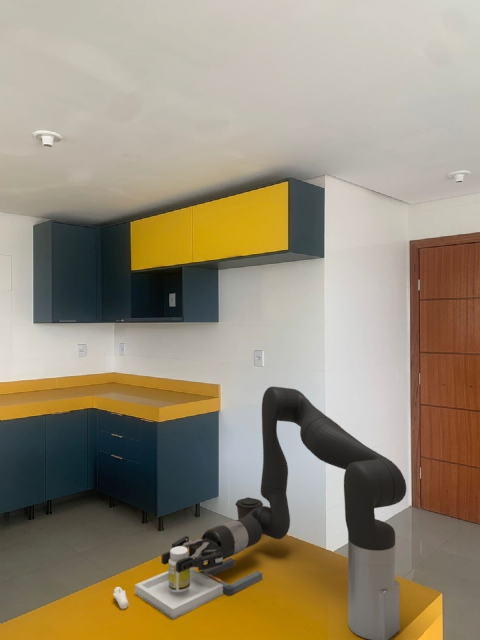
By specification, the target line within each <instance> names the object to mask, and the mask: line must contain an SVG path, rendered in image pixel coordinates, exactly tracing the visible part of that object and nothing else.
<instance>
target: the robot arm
mask: <svg viewBox="0 0 480 640" xmlns="http://www.w3.org/2000/svg"><path fill="white" fill-rule="evenodd" d="M278 421H279V422H285V423H286V422H289V423H292V424H293V423H294V424H296V425H297V426H298V427H300V431H299V435H300V439H301V442H302V444H303V445H304V447H305V448H306V449H307V450H308V451H310V453H311V454H313V455H314V456H315V457H316V458H317V459H318V460H320V461H321V462H324V463H325V464H328V465H331V466H333V467H337V468H340V469H342V470H345V471H344V477H343V494H344V495H343V496H344V498H343V500H344V515H345V525H346V528H347V534H348V535H347V553H348V555H347V610H348V611H347V616H348V617H347V624H348V628H349V629H350V630H351V632H352V633H353V634H355V635H357V636H359V637H361V638H364V639H366V640H390V639H391V638H393V636H395V635H396V634H397V633H398V632H400V631H401V630H400V628H401V627H400V626H401V625H400V624H401V621H400V617H401V616H400V615H401V613H400V607H401V606H400V602H401V601H400V600H401V599H400V593H401V592H400V591H401V589H400V585H401V584H400V582H399V581H397V580H396V531H395V528H394V527H393V526H392V525H390V524H389V523H387V522H385V521H382V520H380V519H377V518H376V513H375V509H379V508H385V507H391V506H394V505H398V504H399V503H400V502H401V501H402V500H403V499H404V497H406V494H407V483H406V480H405V477H404V474H403V473H402V470H400V468H399V467H398V466H397V464H395V463H394V462H393V461H392V460H390V459H389V458H387V457H385V456H383V455H382V454H380V453H379V452H377V451H376V450H374V449H372V448H370V447H368V446H366V445H365V444H364V443H363V442H361V441H360V440H358V439H357V438H356V437H354V436H353V435H352V434H350V433H349V432H348V431H346V430H345V429H344V428H343V427H342V426H341V425H339V424H338V423H337V422H336V421H334V420H333V419H332V418H330V417H328V416H327V415H326V414H325V413H324V412H322V411H321V410H320V409H318V408H317V407H316V406H314V404H312V403H311V401H310V400H309V399H308V398H307V397H306V396H305V395H304V393H303V392H301V391H300V390H298V389H294V388H290V387H282V386H269V387H268V388H266V390H265V391H264V393H263V396H262V401H261V431H262V432H261V433H262V455H263V456H262V471H261V472H262V473H261V482H260V483H261V484H260V495H261V496H262V498H263V499H265V500H267V502H268V503H269V506H266V505H263V506H260V507H257V508H255V509H253V510H252V511H251V512H250V513H249V514H247V515H246V516H245V517H244V518H241V519H236V520H233V521H228V522H225V523H223V524H220V525H218V526H214V527H212V528H209V529H207V530H205V532H204V533H203V535H202V536H201V537H200V538H196V539H193V540H191V539H189V538H190V537H189V536H188V535H185V536H183V537H182V538H179V539H178V540H177V541H175V542H173V543H171V549H172V548H174V547H178V546H182V547H186V548H187V549H188V557H187V558H185V559H182V560H180V561H178V562H176V572H178V573H180V572H182V571H185V570H187V569H189V568H192V569H194V570H195V569H197V568H198V570H197V571H202V570H205V569H208V568H212V567H216V566H220V565H222V564H223V561H225V560H227V559H229V558H231V557H233V556H235V555H237V554H239V553H240V552H242V551H243V550H245V549H247V548H249V547H252V546H254V545H256V544H258V543H259V542H260V541H261V539H262V537H263V536H264V535H265V536H267V537H270V538H272V539H274V540H281V539H283V538H285V536H286V535H287V534H288V532H289V531H290V526H291V516H290V515H291V514H290V509H289V502H288V497H287V491H288V490H287V489H288V488H287V487H288V480H289V479H288V478H289V467H288V466H289V465H288V461H287V459H286V456H285V453H284V451H283V449H282V447H281V444H280V441H279V438H278V437H279V436H278V433H277V429H278V428H277V425H278ZM169 559H170V550H169V551H166V552H164V553H162V554H161V564H163V565H167V564H168V565H169ZM205 563H206V564H205Z"/></svg>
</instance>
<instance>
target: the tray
mask: <svg viewBox="0 0 480 640" xmlns="http://www.w3.org/2000/svg"><path fill="white" fill-rule="evenodd" d="M199 572H200V571H198V570H196V569H195V568H194V569H193V568H190V587H189V589H188V590H186V591H184V592H173V591H171V590H170V589H169V570H167V571H164V572H162V573H159V574H157V575H154V576H152V577H150V578H148V579H145V580H143V581H141V582H138V583H135V584H134V594H135V595H136V596H137V595H138V597H139V598H140V597H141V599H142V600H144V601H145V602H146V603H148V604H149V605H150V606H152V607H154V608H155V609H157V610H158V611H160V612H161V613H163V614H164V615H165V616H167V617H169V618H170V619H171V620H175V619H177V618H179V617H181V616H183V615H185V614H187V613H188V612H191V611H193V610H195V609H197V608H199V607H201V606H203V605H204V604H207V603H209V602H211V601H213V600H215V599H216V598H219V597H221V596H223V595H224V593H223V585H222V584H220V583H218V582H216V581H214V580H212V579H211V578H209V577H207V576H205V575H203V574H201V573H199Z"/></svg>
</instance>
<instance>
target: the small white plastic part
mask: <svg viewBox="0 0 480 640" xmlns="http://www.w3.org/2000/svg"><path fill="white" fill-rule="evenodd" d="M112 596H113V597H114V599H115V600H116V602H117V604H118V605H119V608H120V609H121V610H125V609H127V608H128V607H129V601H128V597H127V594H126V590H123V589H122V587H120V586H116V587H115V588H114V590H113V593H112Z"/></svg>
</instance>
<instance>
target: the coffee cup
mask: <svg viewBox="0 0 480 640" xmlns="http://www.w3.org/2000/svg"><path fill="white" fill-rule="evenodd" d="M235 506H236V508H237V509H236V511H237V518H238V519H241V518H244V517H245V516H246V515H247V514H249V513H250V512H251V511H252V510H253V509H255V508H257V507H260V506H264V503H263V501H262V500H261V499H258V498H253V497H252V498H251V497H245V498H240V499H238V500H237V501H236V502H235ZM238 519H237V520H238Z"/></svg>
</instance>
